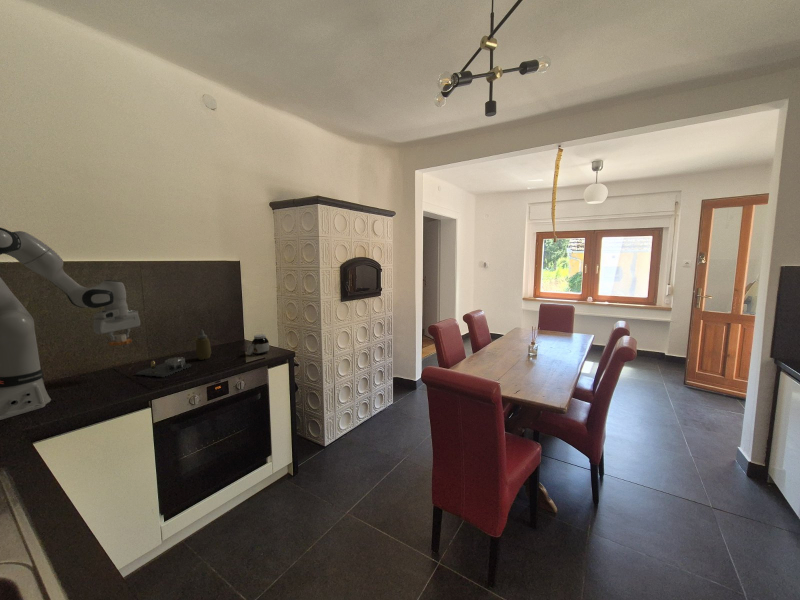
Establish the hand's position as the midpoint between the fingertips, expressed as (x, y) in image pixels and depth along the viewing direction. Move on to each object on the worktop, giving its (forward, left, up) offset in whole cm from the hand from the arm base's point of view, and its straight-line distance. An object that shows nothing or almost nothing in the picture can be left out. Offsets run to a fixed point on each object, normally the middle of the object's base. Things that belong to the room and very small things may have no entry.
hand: (120, 338), depth 165 cm
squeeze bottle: (+33, -18, -20) cm, 42 cm away
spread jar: (+49, -43, -20) cm, 68 cm away
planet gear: (0, 0, -3) cm, 3 cm away
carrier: (+10, -15, -19) cm, 26 cm away
